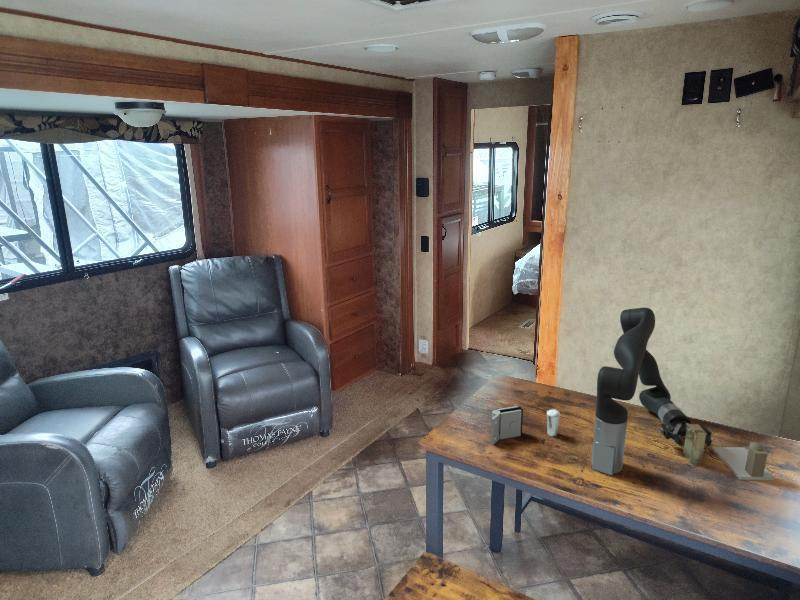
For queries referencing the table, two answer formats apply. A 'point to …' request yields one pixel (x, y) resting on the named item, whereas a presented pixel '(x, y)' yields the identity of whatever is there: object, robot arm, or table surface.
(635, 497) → the table surface
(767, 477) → the mounting plate
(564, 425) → the table surface
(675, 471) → the table surface
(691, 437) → the brown tall block
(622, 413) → the robot arm
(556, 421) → the milkshake
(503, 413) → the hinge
